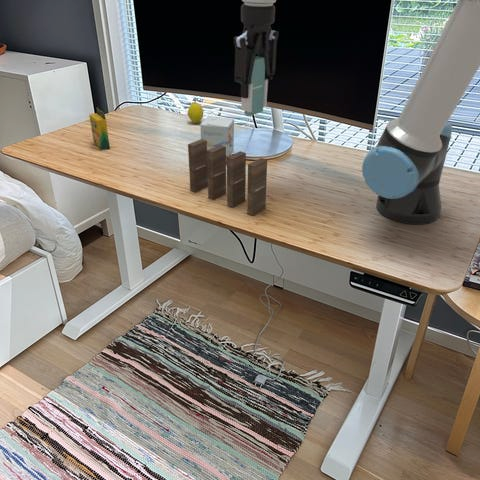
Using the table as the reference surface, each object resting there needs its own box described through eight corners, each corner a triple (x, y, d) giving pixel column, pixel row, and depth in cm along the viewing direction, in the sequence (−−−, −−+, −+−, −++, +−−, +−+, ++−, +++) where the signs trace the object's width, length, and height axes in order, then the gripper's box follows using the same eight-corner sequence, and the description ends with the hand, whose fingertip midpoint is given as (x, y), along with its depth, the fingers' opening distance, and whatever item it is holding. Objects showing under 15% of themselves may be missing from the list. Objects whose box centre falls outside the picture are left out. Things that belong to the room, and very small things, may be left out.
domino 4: (263, 111, 121) (265, 57, 114) (250, 116, 118) (252, 60, 111) (257, 109, 122) (259, 55, 115) (244, 114, 119) (245, 59, 112)
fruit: (190, 126, 173) (189, 104, 169) (186, 121, 177) (185, 99, 173) (205, 125, 174) (204, 102, 170) (201, 120, 179) (200, 98, 175)
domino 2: (226, 193, 128) (225, 146, 121) (213, 200, 124) (212, 152, 118) (221, 191, 129) (220, 144, 122) (208, 198, 125) (206, 150, 119)
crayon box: (93, 143, 158) (87, 108, 152) (102, 142, 159) (97, 106, 153) (101, 150, 153) (95, 114, 147) (110, 148, 154) (105, 112, 148)
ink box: (228, 164, 144) (228, 126, 138) (200, 162, 145) (199, 124, 139) (234, 154, 151) (234, 116, 145) (208, 152, 153) (206, 114, 146)
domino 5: (265, 208, 121) (267, 159, 114) (253, 216, 117) (254, 166, 110) (259, 206, 122) (261, 157, 115) (247, 213, 118) (247, 164, 112)
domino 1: (208, 186, 131) (206, 140, 124) (195, 192, 128) (193, 146, 121) (203, 184, 132) (201, 138, 125) (190, 190, 129) (187, 144, 122)
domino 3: (245, 201, 124) (246, 153, 117) (232, 208, 121) (232, 159, 114) (239, 198, 125) (240, 151, 118) (227, 205, 122) (226, 157, 115)
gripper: (270, -2, 114) (264, 97, 127) (217, 5, 103) (217, 112, 116) (296, 2, 110) (288, 103, 123) (244, 9, 99) (241, 120, 111)
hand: (253, 107), depth 119 cm, fingers closed on domino 4, 5 cm apart
